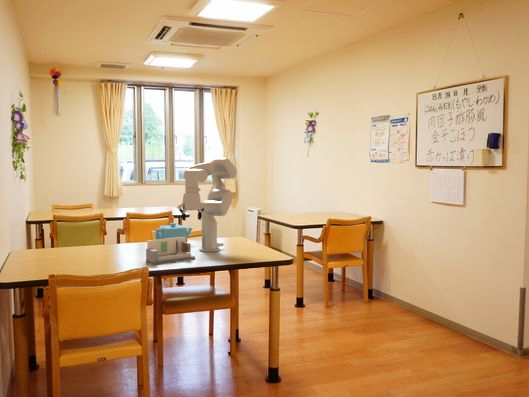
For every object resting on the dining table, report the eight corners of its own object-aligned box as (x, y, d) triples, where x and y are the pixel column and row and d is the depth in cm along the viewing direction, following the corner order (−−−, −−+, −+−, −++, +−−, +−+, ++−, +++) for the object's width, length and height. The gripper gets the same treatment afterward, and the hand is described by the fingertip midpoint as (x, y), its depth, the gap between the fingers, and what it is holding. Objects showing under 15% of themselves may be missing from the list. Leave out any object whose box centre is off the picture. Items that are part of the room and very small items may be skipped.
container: (152, 245, 335) (152, 222, 334) (188, 242, 347) (188, 220, 346) (159, 249, 320) (159, 225, 319) (196, 246, 332) (196, 223, 331)
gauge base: (186, 256, 298) (186, 236, 297) (195, 259, 290) (194, 238, 289) (145, 261, 282) (145, 240, 281) (153, 264, 274) (153, 243, 273)
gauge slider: (184, 254, 296) (183, 240, 295) (190, 256, 289) (190, 242, 289) (172, 255, 291) (172, 241, 290) (178, 258, 285) (178, 243, 284)
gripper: (202, 190, 299) (202, 218, 300) (175, 190, 290) (175, 220, 292) (208, 190, 293) (208, 219, 294) (180, 191, 284) (180, 221, 285)
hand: (191, 219), depth 293 cm, fingers open, 9 cm apart
